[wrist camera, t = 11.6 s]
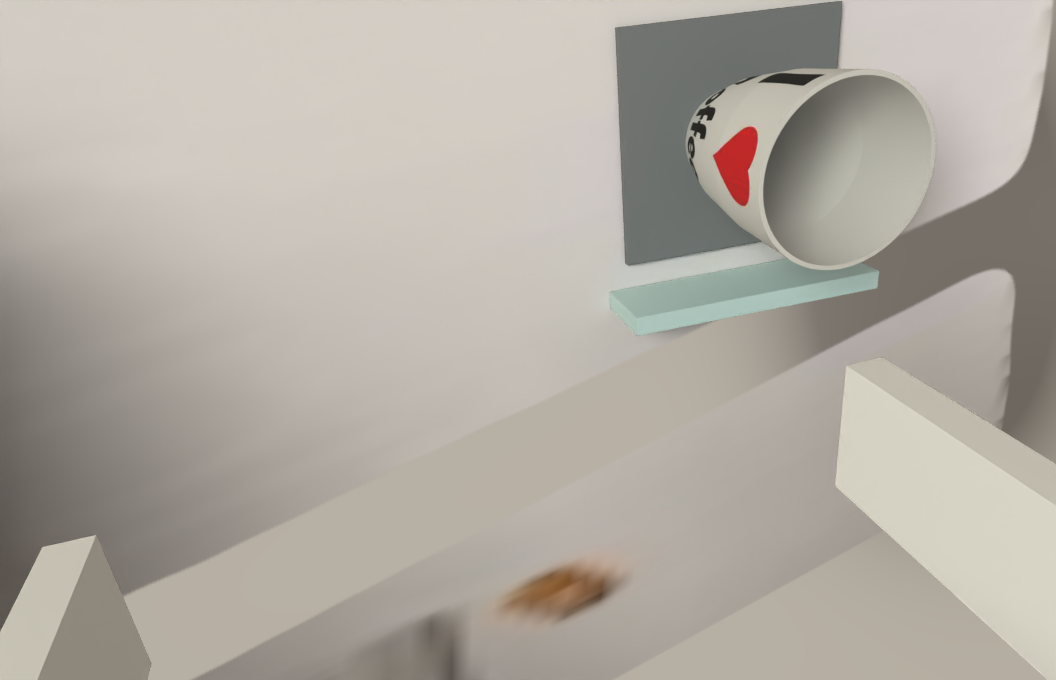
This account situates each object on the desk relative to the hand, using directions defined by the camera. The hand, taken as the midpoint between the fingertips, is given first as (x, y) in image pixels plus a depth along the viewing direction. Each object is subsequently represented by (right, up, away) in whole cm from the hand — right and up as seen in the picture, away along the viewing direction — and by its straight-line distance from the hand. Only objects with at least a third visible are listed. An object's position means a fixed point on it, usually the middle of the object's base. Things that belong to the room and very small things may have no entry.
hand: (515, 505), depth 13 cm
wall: (+12, +6, +30) cm, 33 cm away
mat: (+11, +14, +27) cm, 32 cm away
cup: (+11, +14, +26) cm, 32 cm away
